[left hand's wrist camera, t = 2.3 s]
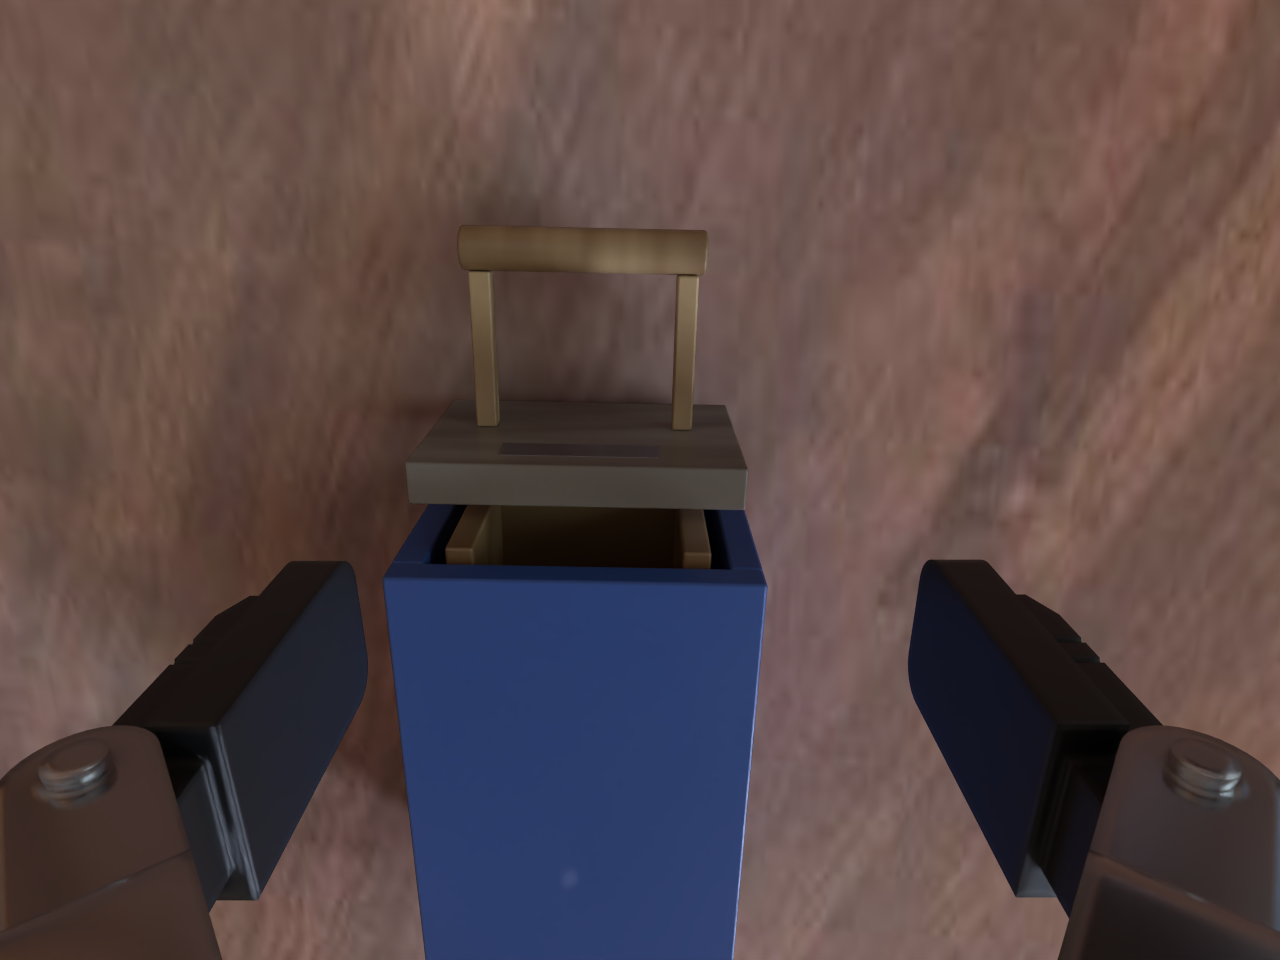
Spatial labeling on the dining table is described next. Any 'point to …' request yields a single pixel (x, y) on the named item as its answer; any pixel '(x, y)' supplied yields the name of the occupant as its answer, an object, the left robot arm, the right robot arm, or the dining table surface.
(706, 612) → the cabinet
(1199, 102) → the dining table surface
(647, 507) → the drawer
